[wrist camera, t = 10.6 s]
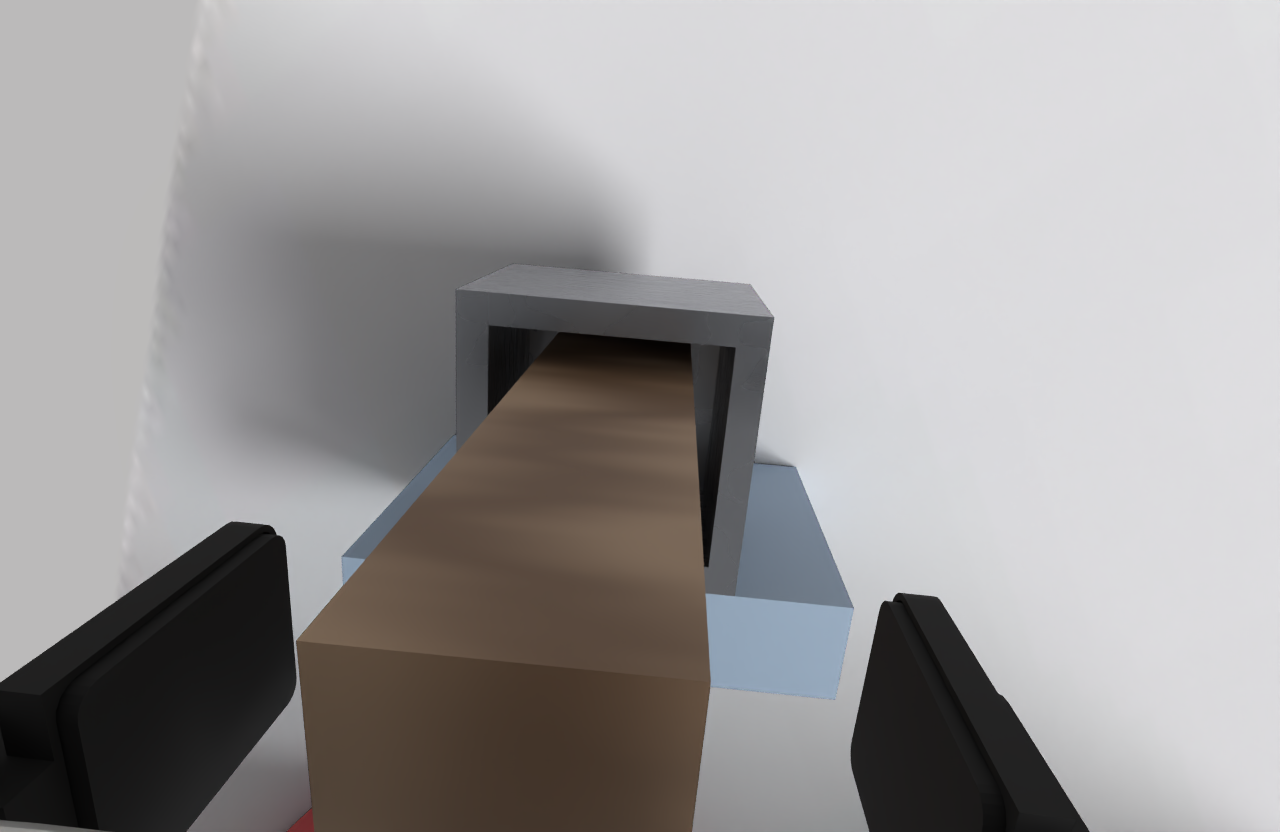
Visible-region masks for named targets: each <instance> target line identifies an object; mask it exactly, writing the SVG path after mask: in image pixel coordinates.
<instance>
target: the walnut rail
mask: <svg viewBox="0 0 1280 832" xmlns="http://www.w3.org/2000/svg"><path fill="white" fill-rule="evenodd" d="M296 644H297V655H298V665H299V676H300V686H301V697H302V707H303V718H304V728H305V739H306V749H307V760H308V771H309V781H310V792H311V802H312V813H313V823H314V832H692V826H693V818H694V810H695V802H696V795H697V787H698V779H699V771H700V763H701V755H702V747H703V740H704V732H705V724H706V716H707V708H708V700H709V693H710V685H711V676H710V659H709V643H708V626H707V609H706V593H705V576H704V559H703V543H702V526H701V509H700V492H699V476H698V459H697V442H696V426H695V409H694V392H693V375H692V359H691V343H680V342H669V341H658V340H647V339H636V338H625V337H614V336H603V335H592V334H581V333H570V332H559V333H558V334H557V335H556V336H555V337H554V339H553V340H552V341H551V342H550V343H549V344H548V346H547V347H546V348H545V349H544V350H543V351H542V353H541V354H540V355H539V356H538V357H537V359H536V360H535V361H534V362H533V363H532V364H531V366H530V367H529V368H528V369H527V370H526V371H525V373H524V374H523V375H522V376H521V377H520V378H519V380H518V381H517V382H516V383H515V384H514V386H513V387H512V388H511V389H510V390H509V391H508V393H507V394H506V395H505V396H504V397H503V398H502V400H501V401H500V402H499V403H498V404H497V406H496V407H495V408H494V409H493V410H492V411H491V413H490V414H489V415H488V416H487V417H486V418H485V420H484V421H483V422H482V423H481V424H480V425H479V427H478V428H477V429H476V430H475V431H474V433H473V434H472V435H471V436H470V437H469V438H468V440H467V441H466V442H465V443H464V444H463V445H462V447H461V448H460V449H459V450H458V451H457V452H456V454H455V455H454V456H453V457H452V458H451V460H450V461H449V462H448V463H447V464H446V465H445V467H444V468H443V469H442V470H441V471H440V472H439V474H438V475H437V476H436V477H435V478H434V480H433V481H432V482H431V483H430V484H429V485H428V487H427V488H426V489H425V490H424V491H423V492H422V494H421V495H420V496H419V497H418V498H417V499H416V501H415V502H414V503H413V504H412V505H411V507H410V508H409V509H408V510H407V511H406V512H405V514H404V515H403V516H402V517H401V518H400V519H399V521H398V522H397V523H396V524H395V525H394V526H393V528H392V529H391V530H390V531H389V532H388V534H387V535H386V536H385V537H384V538H383V539H382V541H381V542H380V543H379V544H378V545H377V546H376V548H375V549H374V550H373V551H372V552H371V554H370V555H369V556H368V557H367V558H366V559H365V561H364V562H363V563H362V564H361V565H360V566H359V568H358V569H357V570H356V571H355V572H354V573H353V575H352V576H351V577H350V578H349V579H348V581H347V582H346V583H345V584H344V585H343V586H342V588H341V589H340V590H339V591H338V592H337V593H336V595H335V596H334V597H333V598H332V599H331V601H330V602H329V603H328V604H327V605H326V606H325V608H324V609H323V610H322V611H321V612H320V613H319V615H318V616H317V617H316V618H315V619H314V620H313V622H312V623H311V624H310V625H309V626H308V628H307V629H306V630H305V631H304V632H303V633H302V635H301V636H300V637H299V638H298V639H297V640H296Z"/></svg>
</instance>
